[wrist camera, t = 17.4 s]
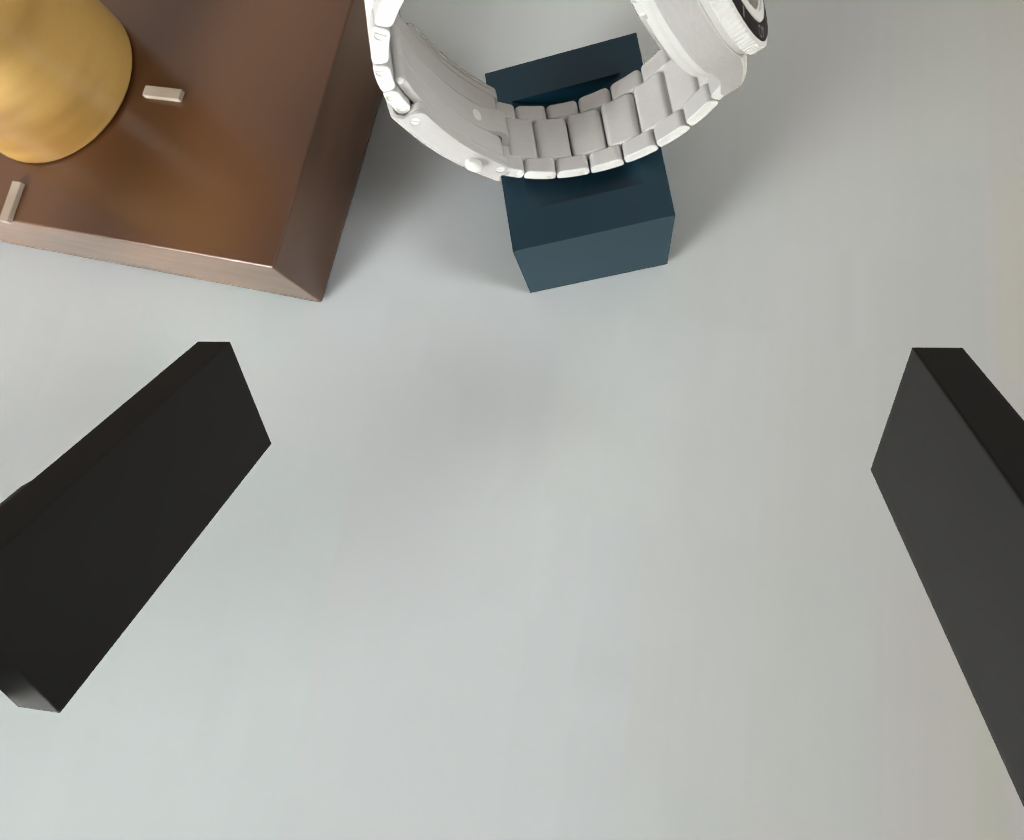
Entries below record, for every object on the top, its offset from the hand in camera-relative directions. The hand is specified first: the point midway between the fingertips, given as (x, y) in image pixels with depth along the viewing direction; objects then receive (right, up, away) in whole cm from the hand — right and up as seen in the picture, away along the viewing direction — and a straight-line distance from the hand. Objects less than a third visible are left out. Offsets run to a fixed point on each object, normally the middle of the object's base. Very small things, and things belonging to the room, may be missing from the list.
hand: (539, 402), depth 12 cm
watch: (+2, +7, +7) cm, 10 cm away
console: (-13, +10, +10) cm, 19 cm away
